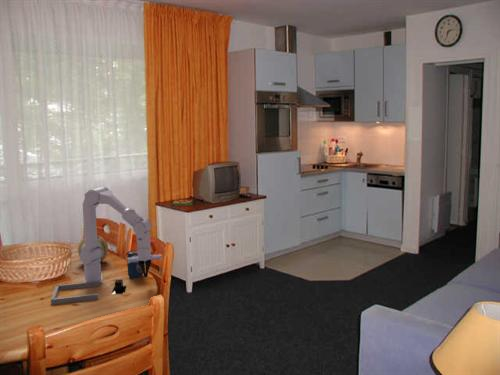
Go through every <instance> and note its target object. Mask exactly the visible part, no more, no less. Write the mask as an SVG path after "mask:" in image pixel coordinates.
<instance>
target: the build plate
mask: <svg viewBox="0 0 500 375" xmlns="http://www.w3.org/2000/svg"><path fill="white" fill-rule="evenodd" d="M123 280H124V279H115V281H114V286H113V288H112V291H111V295H117V294H119V295H121V294H125V293H126V289H127V286H128V285H124V281H123Z"/></svg>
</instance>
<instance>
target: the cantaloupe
mask: <svg viewBox="0 0 500 375" xmlns="http://www.w3.org/2000/svg"><path fill="white" fill-rule="evenodd" d="M97 241H98V242H99V243H100V244H101V248H102V250H103V256H102V257H101V260H100V263H101V262H102V261H104V260H105V259H106V257H107V255H108V251H109V246H108V242H107V241H106V240H105V239H104V238H103V237H102V236H100V235H99V234H97ZM84 243H85V237H84V238H82V239H81V240H80V242H79V244H78V248H77V253H78V256H79V258H80V253H81V247H82V246H83V244H84Z"/></svg>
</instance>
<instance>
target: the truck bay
mask: <svg viewBox="0 0 500 375" xmlns="http://www.w3.org/2000/svg"><path fill="white" fill-rule="evenodd" d="M100 284H101V283H100V281H92V282H84V281H82V282H75V283H73V282H72V283H65V284H64V283H63V284H56V285H55V287H54V290H53V293H52V295H51V299H50V303H51V305H59V304H67V303H69V304H70V303H76V302H85V301H94V300H95V301H96V300H99V293H92V294H91V293H90V294H84V295H83V294H82V295H74V296H64V297H63V296H62V297H58V295H59V292H60V291H63V290H72V289H74V290H75V289H83V288H92V287H93V288H94V287H100Z"/></svg>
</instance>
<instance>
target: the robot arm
mask: <svg viewBox="0 0 500 375" xmlns="http://www.w3.org/2000/svg"><path fill="white" fill-rule="evenodd" d="M99 205H109V206H110V207H111V208H113V209H114V210H115V211H116V212H118V213H119V214H120V215H121V218H122V220H124V221H125V222H126V223H127V224H128V225H130V226H131V227H132V229H133V233H135V237H136V246H137V249H136V250H137V252H138V256H135V257H130V258H127V257H126V260H127V259H128V263H130V262H139V265H140V267H141V269H142V271H143V278H144V279H145V278H148V274H149V271H150V267H151V265H152V261H158V260H159V261H162V254H152V249H151V233H150V231H151V230H152V227H153V224H152V222H151V220H150V219H149V218H144V217H143V216H142V215H140V214H138V213H137V212H136V210H135V209H134V208H132V207H131V208H130V207H129V208H127V207H126V205H124V204H123V202H121V201H120V200H119V199H118V198H117V197H116V196H115V195H114V194H113V192H112V190H110V189H109V188H108V187H106V186H101V187H97V188H94V189H89V190H88V191H86V192H85V193H84V200H83V202H82V216H83V218H82V219H83V233H84V234H83V235H84V238H85V243H84V244H83V246H82V247H81V253H80V257H79V260H80V262H81V263H82V265H83V269H84V271H83V272H84V279H83V282H92V281H100V284H102V283H103V278H104V275H102V268H101V266H102V265H101V262H100V260H101V257H102V256H103V250H102V248H101V244H100V243H99V242H98V241H97V235H98V227H97V226H98V225H97V207H98V206H99Z"/></svg>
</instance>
